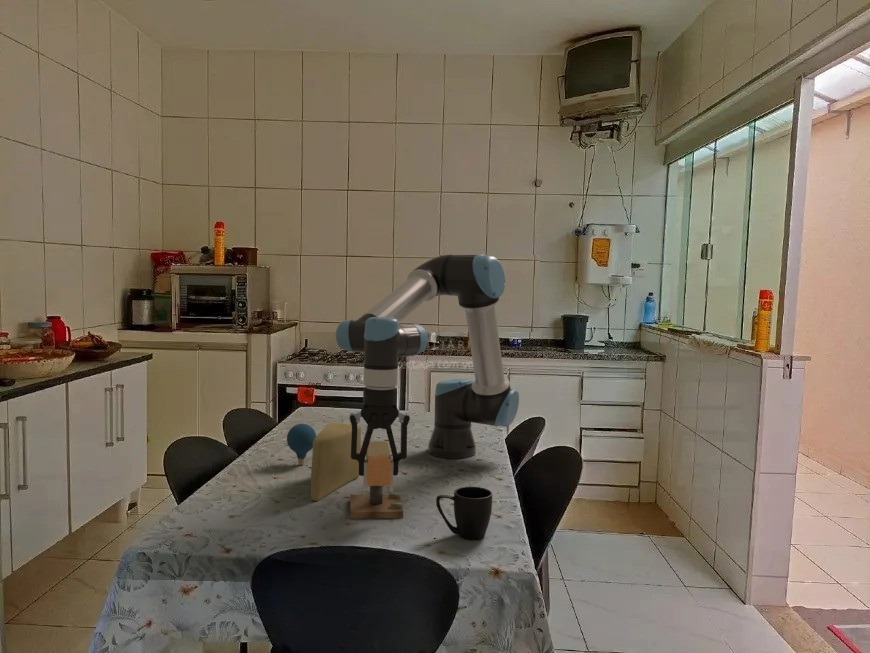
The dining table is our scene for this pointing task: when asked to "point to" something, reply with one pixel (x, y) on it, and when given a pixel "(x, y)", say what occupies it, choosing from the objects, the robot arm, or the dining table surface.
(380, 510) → the wooden base plate
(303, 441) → the light bulb
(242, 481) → the dining table surface
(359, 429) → the cheese
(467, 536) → the mug
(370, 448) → the two-tone wooden block
